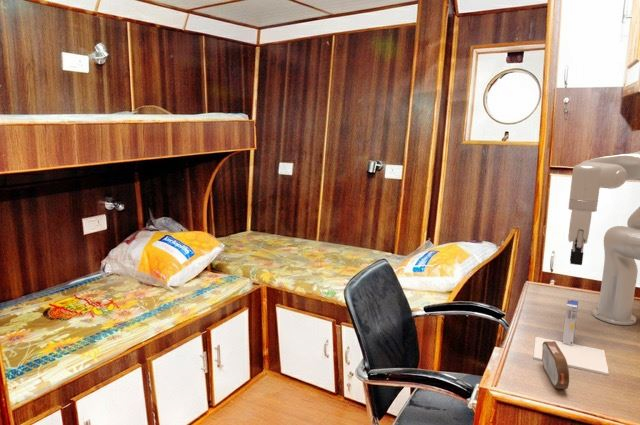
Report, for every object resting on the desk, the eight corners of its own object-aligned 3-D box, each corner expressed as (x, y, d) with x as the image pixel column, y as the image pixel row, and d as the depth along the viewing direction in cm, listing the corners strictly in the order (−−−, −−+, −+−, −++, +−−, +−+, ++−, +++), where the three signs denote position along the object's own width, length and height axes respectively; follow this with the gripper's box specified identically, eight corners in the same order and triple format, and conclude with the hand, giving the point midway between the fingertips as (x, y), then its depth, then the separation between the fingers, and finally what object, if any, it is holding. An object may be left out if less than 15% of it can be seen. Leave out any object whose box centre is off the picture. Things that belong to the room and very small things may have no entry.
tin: (568, 396, 110) (572, 364, 109) (554, 394, 111) (558, 362, 109) (550, 364, 125) (554, 336, 123) (538, 363, 126) (541, 334, 124)
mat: (535, 338, 140) (535, 336, 140) (603, 352, 132) (604, 350, 132) (533, 359, 128) (533, 357, 128) (608, 375, 120) (608, 373, 120)
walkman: (564, 335, 142) (568, 298, 141) (574, 337, 141) (578, 300, 139) (562, 343, 135) (566, 304, 134) (572, 345, 134) (577, 306, 133)
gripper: (568, 200, 148) (562, 255, 151) (569, 208, 134) (562, 268, 137) (595, 202, 144) (588, 258, 148) (599, 210, 130) (591, 272, 134)
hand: (575, 262), depth 142 cm, fingers closed
